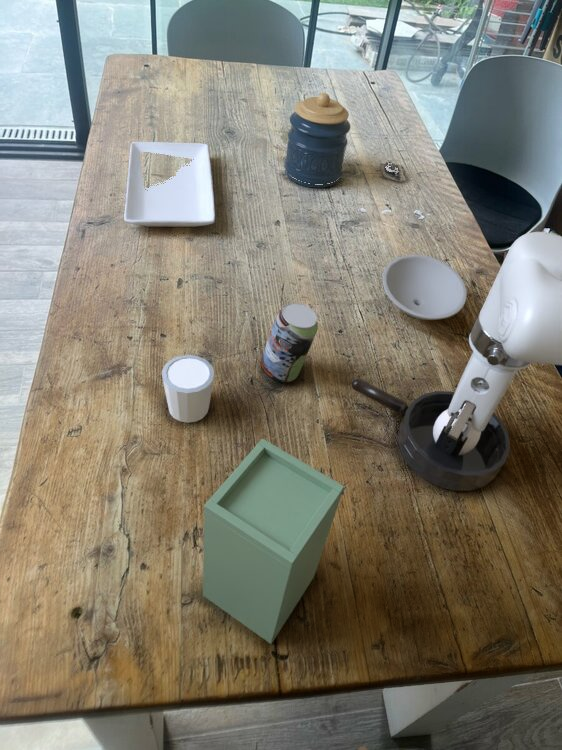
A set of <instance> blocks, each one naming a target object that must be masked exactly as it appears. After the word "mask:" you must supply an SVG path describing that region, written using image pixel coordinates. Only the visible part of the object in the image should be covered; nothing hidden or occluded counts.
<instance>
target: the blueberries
mask: <svg viewBox="0 0 562 750" xmlns="http://www.w3.org/2000/svg"><path fill="white" fill-rule="evenodd" d="M388 163H392V166H391V164H389V166H391V167H389V169H391V170H395V167H396V168H398V171H399V172H398V173H397V174H395V173H396V172H389V171H387V170H386V168H385V167H386V166H387V165H388ZM387 167H388V166H387ZM379 169H380V171H381V172H380V173H381V174H382V176H383V178H386V179H387V180H393V181H395V182H398V183H403V182H405V181H407V178H406V175H404V174H405V172H404V171H405V169H404V166H402V165H400V164H397V163H396V164H395V163H394V162H392V161H389V162H387V161H386V162H385V163H381V162H380V163H379ZM395 171H397V170H395Z"/></svg>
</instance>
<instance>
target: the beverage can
mask: <svg viewBox="0 0 562 750" xmlns="http://www.w3.org/2000/svg"><path fill="white" fill-rule="evenodd" d="M318 328H319V323H318V317H317V314H316V312H315V311H314V310H313V309H312V308H311V307H310V306H308V305H306V304H303V303H299V302H291V303H290V302H289V303H288V304H286V305H285V306H284V307H283V308H281V309H280V310H279V311H278V312H277V313H276V316H275V319H274V322H273V325H272V327H271V330H270V333H269V335H268V339H267V342H266V345H265V348H264V350H263V353H262V356H261V359H260V368H261V370H262V372H263V373H264V374H265V375H266V376H267V377H268V378H270V379H271V380H273V381H275V382H278V383H279V382H280V383H289V382H292V381H294V380H296V379H297V378H298V376H299V375H300V372H301V371H302V370H301V369H302V367H303V366H304V363H305V361H306V358H307V356H308V353H309V352H310V349H311V347H312V344H313V342H314V340H315V337H316V335H317V333H318V330H319V329H318Z"/></svg>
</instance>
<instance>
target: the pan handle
mask: <svg viewBox="0 0 562 750" xmlns="http://www.w3.org/2000/svg"><path fill="white" fill-rule="evenodd" d="M351 388H352V390H354V391H356V392H358V393H360V394H361V395H363V396H365V397H367V398H369V399H370V400H373V401H375V402H377V403H378V404H381V405H383V406H384V407H385V408H388V409H390V410H392V411H394V412H395V413H398V414H400V415H405V412H406V410H407V409H408V407H409V404H408V403H407V402H406V401H404V400H402V399H400V398H399V397H397V396H394V395H393V394H391V393H388V392H387V391H385V390H383V389H381V388H379V387H377V386H375V385H373V384H372V383H369V382H367V381H366V380H364V379H361V378H360V377H359V378H354V379H353V380H352V381H351Z"/></svg>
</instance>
